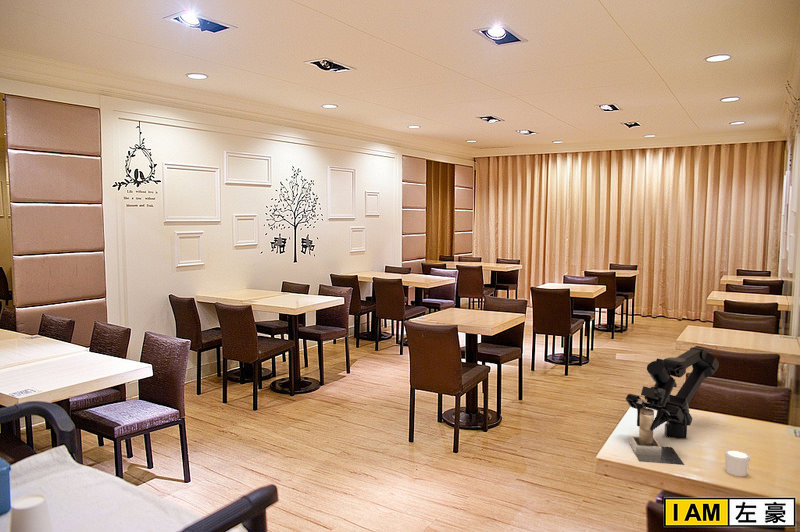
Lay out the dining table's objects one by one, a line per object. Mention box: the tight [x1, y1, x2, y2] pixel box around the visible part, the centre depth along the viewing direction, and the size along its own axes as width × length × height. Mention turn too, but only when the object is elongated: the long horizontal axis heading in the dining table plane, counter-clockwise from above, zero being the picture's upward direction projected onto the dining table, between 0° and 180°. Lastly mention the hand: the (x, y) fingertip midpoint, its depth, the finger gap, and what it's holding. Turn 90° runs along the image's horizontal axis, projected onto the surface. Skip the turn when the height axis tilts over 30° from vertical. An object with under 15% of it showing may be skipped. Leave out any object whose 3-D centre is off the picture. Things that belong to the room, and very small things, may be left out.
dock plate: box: [629, 435, 685, 466], centre depth 190 cm, size 14×14×4 cm
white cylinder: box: [724, 449, 751, 478], centre depth 177 cm, size 7×7×7 cm
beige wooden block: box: [638, 407, 655, 446], centre depth 193 cm, size 4×4×12 cm
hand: (644, 427), depth 192 cm, fingers closed on beige wooden block, 4 cm apart
